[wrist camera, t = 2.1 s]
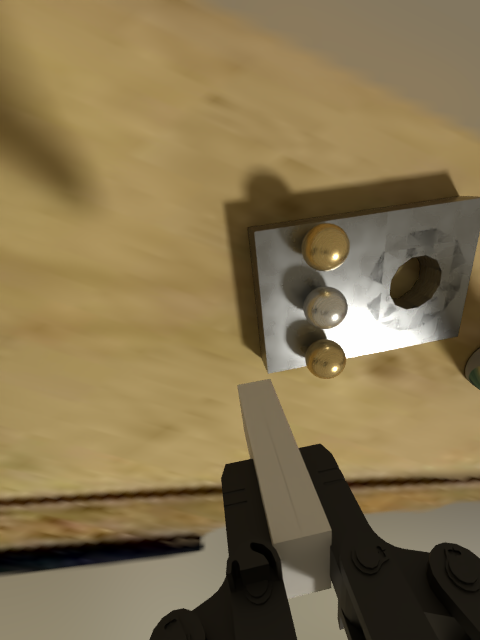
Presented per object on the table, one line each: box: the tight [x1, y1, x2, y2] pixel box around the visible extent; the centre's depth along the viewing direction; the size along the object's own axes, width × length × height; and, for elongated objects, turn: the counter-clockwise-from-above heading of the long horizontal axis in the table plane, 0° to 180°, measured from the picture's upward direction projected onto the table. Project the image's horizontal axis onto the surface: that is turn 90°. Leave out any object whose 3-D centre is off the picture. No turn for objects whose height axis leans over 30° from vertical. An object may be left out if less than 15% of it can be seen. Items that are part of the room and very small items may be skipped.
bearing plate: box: [248, 196, 480, 373], centre depth 25 cm, size 18×12×2 cm, turn 97°
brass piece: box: [305, 339, 346, 379], centre depth 24 cm, size 3×3×3 cm
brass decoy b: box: [301, 223, 350, 271], centre depth 21 cm, size 3×3×3 cm
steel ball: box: [303, 286, 348, 329], centre depth 22 cm, size 3×3×3 cm
